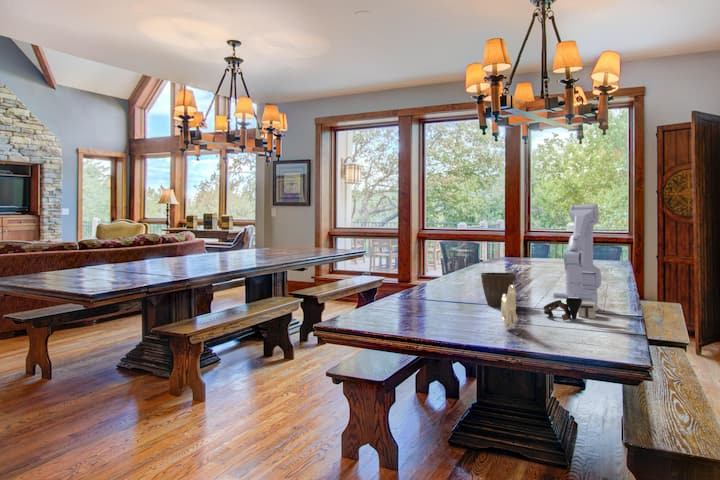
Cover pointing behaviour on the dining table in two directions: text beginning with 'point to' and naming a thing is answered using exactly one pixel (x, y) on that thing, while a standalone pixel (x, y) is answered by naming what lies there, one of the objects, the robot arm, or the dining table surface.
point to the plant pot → (496, 286)
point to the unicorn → (509, 306)
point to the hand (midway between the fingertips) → (574, 318)
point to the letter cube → (587, 310)
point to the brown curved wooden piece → (554, 306)
